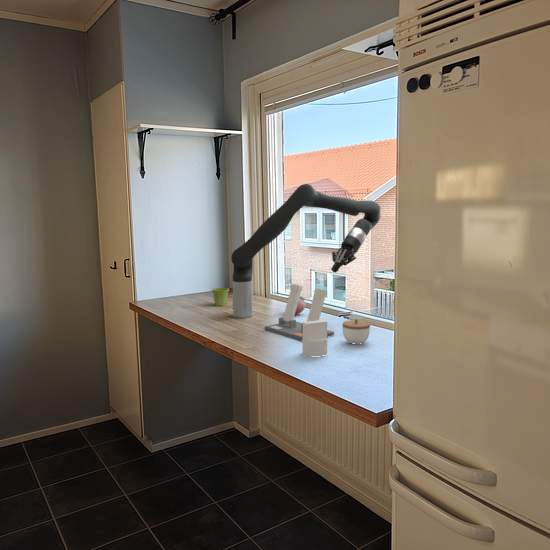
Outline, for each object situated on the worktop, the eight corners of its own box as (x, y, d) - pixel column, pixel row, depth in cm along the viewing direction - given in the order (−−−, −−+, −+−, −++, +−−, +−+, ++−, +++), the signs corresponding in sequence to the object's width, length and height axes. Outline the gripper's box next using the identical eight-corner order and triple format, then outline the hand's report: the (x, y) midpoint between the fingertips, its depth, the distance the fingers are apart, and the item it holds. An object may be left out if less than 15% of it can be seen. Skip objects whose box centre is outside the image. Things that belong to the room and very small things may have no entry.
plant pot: (220, 302, 287) (219, 287, 286) (233, 304, 282) (233, 288, 281) (208, 305, 280) (207, 289, 278) (221, 307, 274) (221, 291, 273)
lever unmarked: (288, 324, 226) (299, 285, 227) (281, 322, 230) (291, 283, 231) (292, 325, 227) (302, 286, 229) (284, 323, 231) (295, 285, 233)
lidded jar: (339, 344, 204) (339, 321, 203) (345, 337, 214) (346, 315, 213) (366, 347, 201) (367, 323, 199) (372, 340, 210) (372, 317, 209)
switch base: (305, 342, 208) (305, 331, 208) (264, 329, 228) (264, 319, 228) (333, 335, 218) (334, 324, 217) (292, 324, 238) (292, 314, 238)
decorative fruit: (306, 312, 261) (306, 292, 260) (305, 316, 253) (305, 295, 252) (287, 312, 262) (287, 292, 261) (285, 316, 254) (285, 295, 253)
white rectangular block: (309, 358, 187) (309, 325, 185) (298, 352, 195) (298, 320, 193) (331, 355, 190) (332, 323, 189) (319, 349, 199) (320, 318, 197)
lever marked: (312, 331, 214) (323, 290, 216) (304, 328, 218) (315, 288, 220) (316, 332, 216) (327, 291, 217) (307, 329, 220) (318, 289, 221)
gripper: (338, 233, 231) (318, 263, 225) (361, 235, 220) (340, 266, 214) (346, 245, 235) (326, 275, 229) (369, 247, 224) (349, 278, 219)
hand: (333, 271), depth 222 cm, fingers closed
